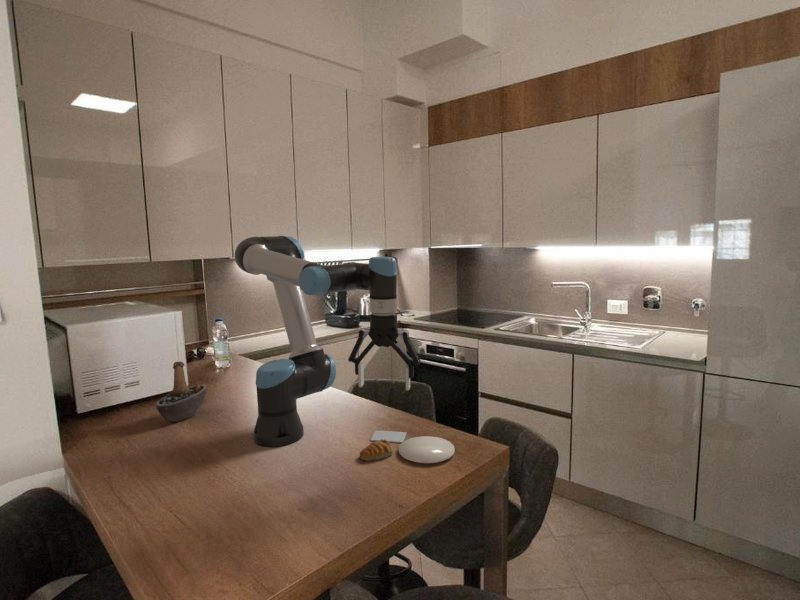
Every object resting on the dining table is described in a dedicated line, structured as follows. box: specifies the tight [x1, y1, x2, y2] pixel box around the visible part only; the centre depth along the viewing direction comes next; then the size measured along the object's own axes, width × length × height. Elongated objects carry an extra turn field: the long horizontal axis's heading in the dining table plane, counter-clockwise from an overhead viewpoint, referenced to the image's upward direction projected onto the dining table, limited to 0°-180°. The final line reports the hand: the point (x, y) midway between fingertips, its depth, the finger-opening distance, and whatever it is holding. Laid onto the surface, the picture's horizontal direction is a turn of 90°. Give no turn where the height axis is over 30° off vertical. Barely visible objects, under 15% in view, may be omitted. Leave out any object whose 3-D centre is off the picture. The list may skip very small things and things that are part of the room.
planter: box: [155, 361, 207, 423], centre depth 164 cm, size 15×17×20 cm
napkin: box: [370, 430, 408, 444], centre depth 147 cm, size 10×7×1 cm
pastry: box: [359, 439, 394, 462], centre depth 135 cm, size 9×7×4 cm
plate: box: [398, 435, 455, 464], centre depth 136 cm, size 16×16×1 cm
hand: (384, 387), depth 134 cm, fingers open, 13 cm apart
